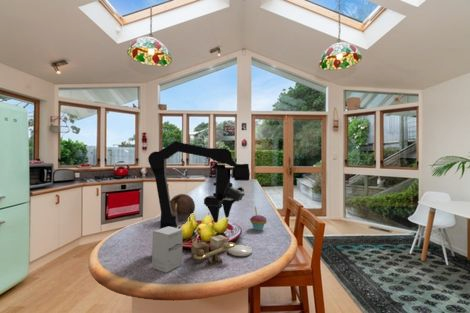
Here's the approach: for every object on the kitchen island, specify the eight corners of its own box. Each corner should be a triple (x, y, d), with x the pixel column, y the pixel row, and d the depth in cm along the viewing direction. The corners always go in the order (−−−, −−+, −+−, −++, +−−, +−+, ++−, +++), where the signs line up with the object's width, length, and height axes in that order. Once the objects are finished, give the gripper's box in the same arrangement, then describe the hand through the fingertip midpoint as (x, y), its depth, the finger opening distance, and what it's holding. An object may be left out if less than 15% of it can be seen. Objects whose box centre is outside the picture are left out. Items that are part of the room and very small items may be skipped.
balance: (196, 269, 85) (196, 252, 84) (192, 263, 88) (192, 248, 88) (236, 260, 92) (237, 245, 92) (231, 256, 96) (231, 241, 96)
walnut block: (195, 261, 90) (195, 247, 90) (191, 256, 95) (191, 243, 95) (208, 259, 93) (208, 245, 93) (203, 254, 97) (204, 241, 97)
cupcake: (247, 230, 128) (248, 206, 128) (253, 225, 136) (253, 203, 136) (264, 232, 125) (264, 208, 125) (268, 227, 133) (268, 205, 133)
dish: (234, 259, 93) (235, 256, 93) (223, 250, 101) (224, 247, 101) (256, 254, 97) (256, 251, 97) (244, 246, 106) (244, 243, 106)
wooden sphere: (185, 215, 157) (185, 191, 157) (199, 220, 147) (200, 194, 146) (163, 219, 146) (163, 193, 146) (177, 225, 136) (178, 197, 136)
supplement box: (166, 273, 81) (167, 234, 81) (151, 267, 85) (151, 230, 85) (182, 265, 87) (183, 228, 87) (167, 260, 91) (168, 225, 91)
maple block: (217, 253, 98) (217, 240, 98) (210, 249, 102) (210, 237, 102) (227, 250, 101) (227, 238, 101) (220, 246, 105) (220, 234, 105)
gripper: (231, 184, 87) (229, 228, 88) (250, 179, 104) (249, 217, 105) (203, 181, 92) (202, 224, 92) (226, 178, 109) (225, 213, 109)
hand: (221, 219), depth 99 cm, fingers open, 9 cm apart
